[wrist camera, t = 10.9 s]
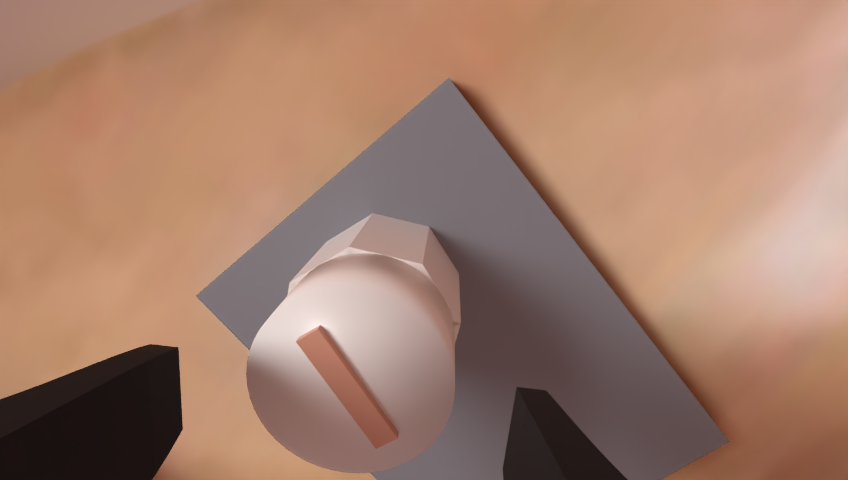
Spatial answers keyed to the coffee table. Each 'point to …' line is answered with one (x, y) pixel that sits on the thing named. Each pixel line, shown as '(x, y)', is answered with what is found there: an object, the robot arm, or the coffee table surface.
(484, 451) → the board
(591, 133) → the coffee table surface
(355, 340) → the knob
